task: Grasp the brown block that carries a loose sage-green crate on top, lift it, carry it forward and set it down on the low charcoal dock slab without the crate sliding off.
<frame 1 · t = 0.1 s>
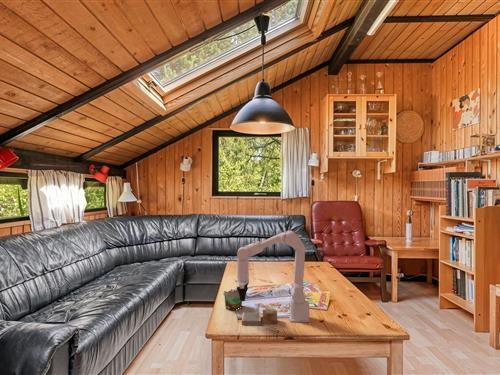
hand: (243, 298, 164), 10 cm above the table, fingers open, 7 cm apart
dock: (251, 320, 161), on the table
brown block: (269, 322, 160), on the table, touching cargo
food container: (235, 308, 177), on the table
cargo: (269, 312, 160), point 5 cm above the table, touching brown block
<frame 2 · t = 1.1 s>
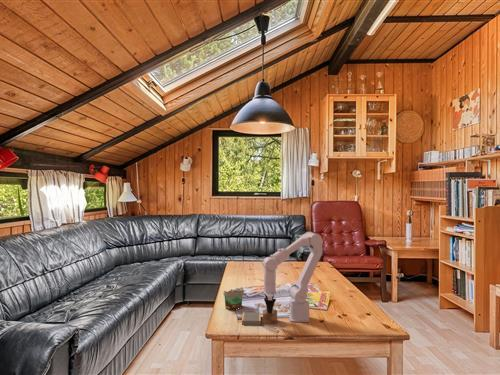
hand: (269, 309, 160), 6 cm above the table, fingers open, 7 cm apart
nothing on the table moved.
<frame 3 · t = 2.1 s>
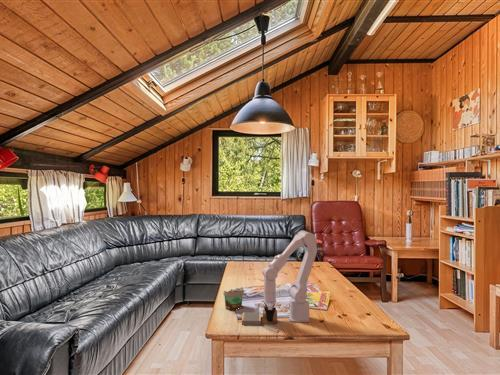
hand: (269, 318, 160), 1 cm above the table, fingers closed on brown block, 5 cm apart
brown block: (269, 321, 160), on the table, touching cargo, gripper
everything else where it was.
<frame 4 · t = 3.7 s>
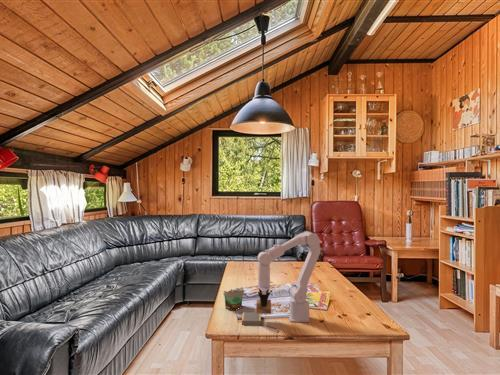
hand: (263, 304, 160), 8 cm above the table, fingers closed on brown block, 5 cm apart
brown block: (263, 311, 160), point 5 cm above the table, touching gripper
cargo: (263, 301, 160), point 10 cm above the table
everything else where it was.
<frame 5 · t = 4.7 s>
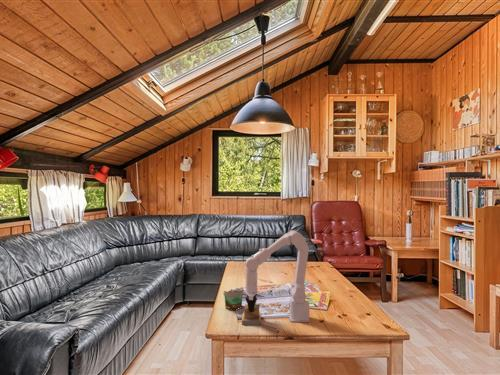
hand: (251, 309, 161), 6 cm above the table, fingers closed on brown block, 5 cm apart
brown block: (252, 316, 161), point 2 cm above the table, touching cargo, dock, gripper
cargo: (252, 306, 161), point 7 cm above the table, touching brown block
everything else where it was.
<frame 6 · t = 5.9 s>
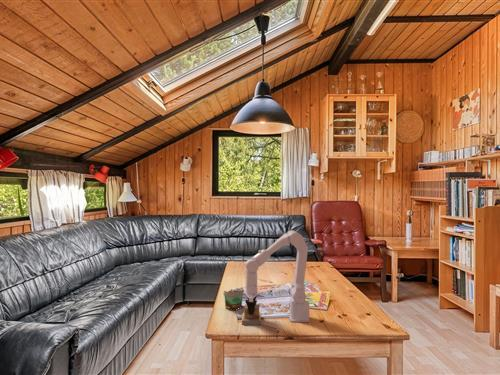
hand: (251, 311, 161), 5 cm above the table, fingers open, 7 cm apart
brown block: (252, 316, 161), point 2 cm above the table, touching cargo, dock
everything else where it was.
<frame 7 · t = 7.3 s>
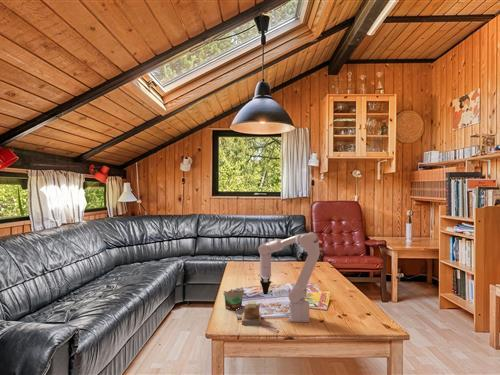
hand: (265, 291, 173), 10 cm above the table, fingers open, 7 cm apart
nothing on the table moved.
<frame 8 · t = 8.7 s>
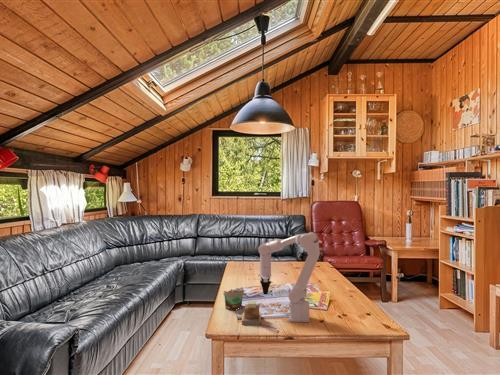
hand: (265, 291, 173), 10 cm above the table, fingers open, 7 cm apart
nothing on the table moved.
at the end: brown block inside the target area on the dock (0.2 cm from its centre), point 2.0 cm above the dock's base; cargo 0.1 cm off-centre on the brown block, point 5.0 cm above the brown block's base; brown block tilted 0° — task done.
